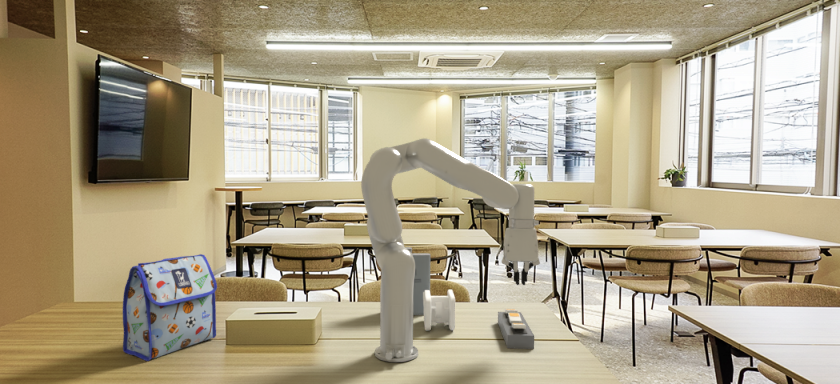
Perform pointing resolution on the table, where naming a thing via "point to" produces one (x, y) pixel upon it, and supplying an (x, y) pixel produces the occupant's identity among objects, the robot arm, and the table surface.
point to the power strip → (515, 333)
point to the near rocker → (518, 325)
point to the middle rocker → (514, 317)
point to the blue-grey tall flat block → (420, 280)
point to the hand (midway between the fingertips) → (520, 283)
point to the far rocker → (511, 311)
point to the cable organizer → (439, 310)
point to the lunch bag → (168, 306)
